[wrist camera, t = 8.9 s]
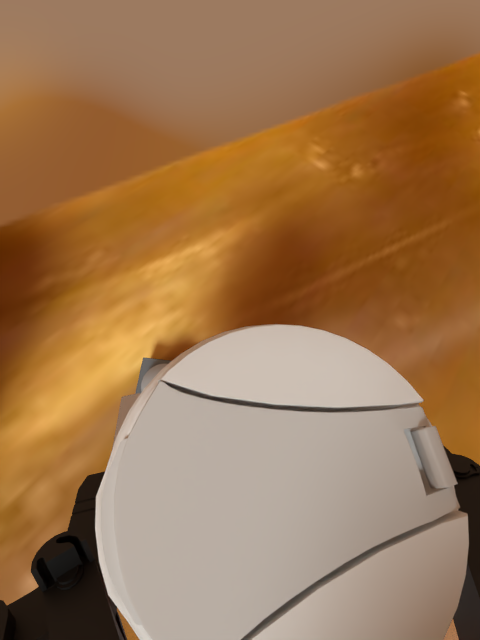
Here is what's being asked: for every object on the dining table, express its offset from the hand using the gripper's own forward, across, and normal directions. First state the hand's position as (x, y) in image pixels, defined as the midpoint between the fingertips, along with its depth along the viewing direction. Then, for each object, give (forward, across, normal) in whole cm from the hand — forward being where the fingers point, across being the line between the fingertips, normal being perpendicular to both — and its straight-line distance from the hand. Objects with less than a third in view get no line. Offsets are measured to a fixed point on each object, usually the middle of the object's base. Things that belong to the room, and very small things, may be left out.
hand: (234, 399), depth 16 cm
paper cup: (+1, 0, -6) cm, 6 cm away
